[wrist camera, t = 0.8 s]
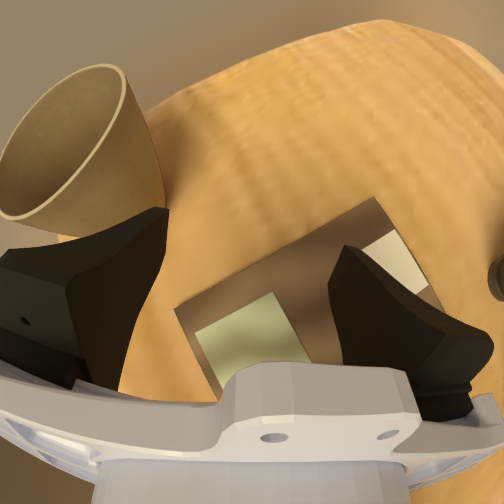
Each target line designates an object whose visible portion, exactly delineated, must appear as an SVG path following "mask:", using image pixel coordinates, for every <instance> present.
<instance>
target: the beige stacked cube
mask: <svg viewBox="0 0 504 504" xmlns="http://www.w3.org/2000/svg"><path fill="white" fill-rule="evenodd" d="M362 251H363V252H364V253H366V254H367V255H368V256H370V257H371V258H372V259H373V260H374V261H375V262H377V263H378V264H379V265H380V266H381V267H382V268H383V269H385V270H386V271H387V272H388V273H389V274H390V275H392V276H393V277H394V278H395V279H396V280H397V281H399V282H400V283H401V284H402V285H404V286H405V287H406V288H407V289H409V290H410V291H411V292H413V293H414V294H417V293H418V292H420V291H421V290H422V289H424V288H425V287H426V286H428V285H429V284H428V283H427V281H426V279H425V277H424V276H423V274H422V272H421V271H420V269H419V267H418V265H417V264H416V262H415V261H414V259H413V257H412V256H411V254H410V252H409V251H408V249H407V248H406V246H405V244H404V243H403V241H402V240H401V238H400V237H399V235H398V234H397V232H396V231H395V229H394V230H393V231H391V232H390V233H388V234H386V235H385V236H383V237H382V238H380V239H378V240H377V241H375V242H374V243H372V244H370V245H369V246H367V247H365V248H364V249H362Z"/></svg>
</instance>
